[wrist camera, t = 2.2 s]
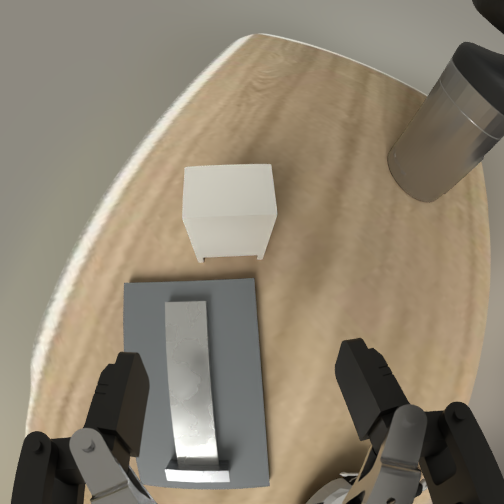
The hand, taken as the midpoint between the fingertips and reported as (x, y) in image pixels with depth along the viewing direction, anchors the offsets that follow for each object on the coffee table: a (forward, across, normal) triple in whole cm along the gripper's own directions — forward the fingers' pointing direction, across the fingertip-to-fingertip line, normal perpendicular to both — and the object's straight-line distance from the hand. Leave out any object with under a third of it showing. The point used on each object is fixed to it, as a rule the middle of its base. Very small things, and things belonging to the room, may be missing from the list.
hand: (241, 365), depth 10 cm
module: (+18, 0, +2) cm, 18 cm away
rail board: (+8, +4, +12) cm, 15 cm away
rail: (+8, +4, +12) cm, 15 cm away
